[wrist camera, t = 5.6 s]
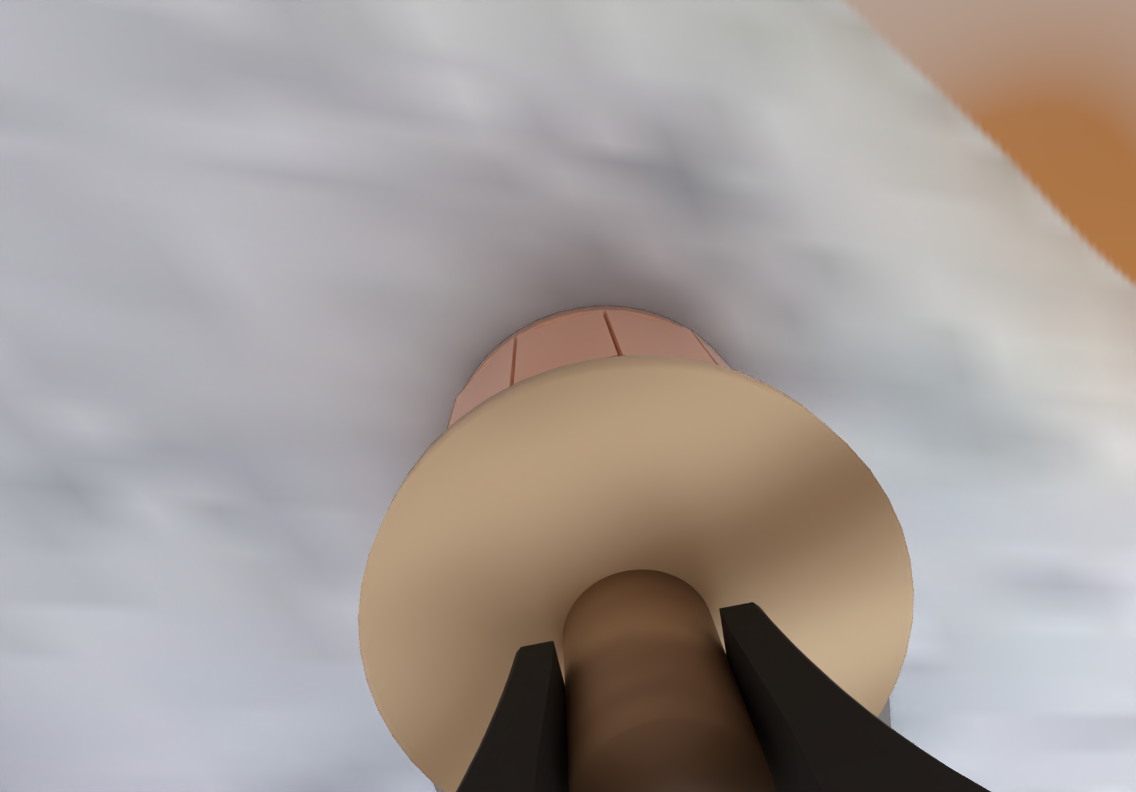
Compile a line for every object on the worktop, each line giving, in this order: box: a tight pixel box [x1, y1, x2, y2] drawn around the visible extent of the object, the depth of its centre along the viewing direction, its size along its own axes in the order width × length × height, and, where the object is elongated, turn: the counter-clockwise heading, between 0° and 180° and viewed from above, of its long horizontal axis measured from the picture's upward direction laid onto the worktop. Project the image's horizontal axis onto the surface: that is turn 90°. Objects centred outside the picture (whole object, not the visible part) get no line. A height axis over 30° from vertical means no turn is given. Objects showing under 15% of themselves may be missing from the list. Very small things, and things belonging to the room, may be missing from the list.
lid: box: [358, 355, 914, 792], centre depth 13 cm, size 11×11×5 cm
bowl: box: [447, 306, 731, 429], centre depth 19 cm, size 9×9×5 cm
